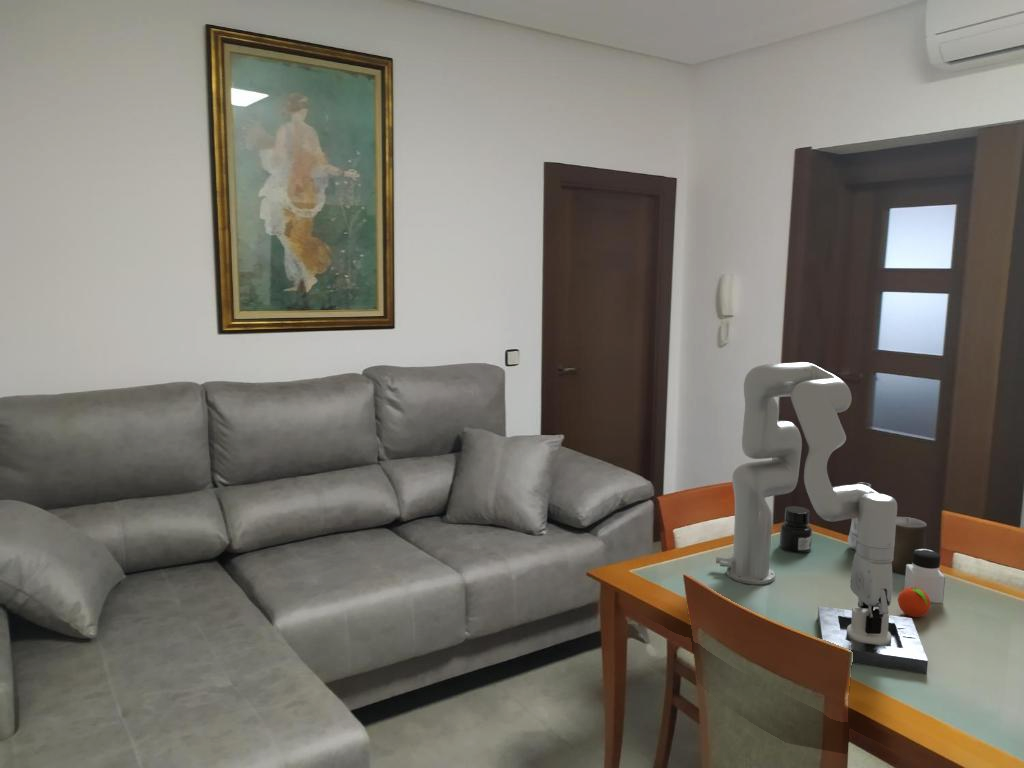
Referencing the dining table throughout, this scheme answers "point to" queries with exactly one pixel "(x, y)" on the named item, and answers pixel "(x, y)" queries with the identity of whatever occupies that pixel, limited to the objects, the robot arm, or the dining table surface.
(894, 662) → the dial plate
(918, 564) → the medicine bottle
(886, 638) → the dial knob
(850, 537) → the plastic bottle
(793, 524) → the ink bottle
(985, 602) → the dining table surface
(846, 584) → the dining table surface
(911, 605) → the clementine
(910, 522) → the pillar candle
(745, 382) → the robot arm
